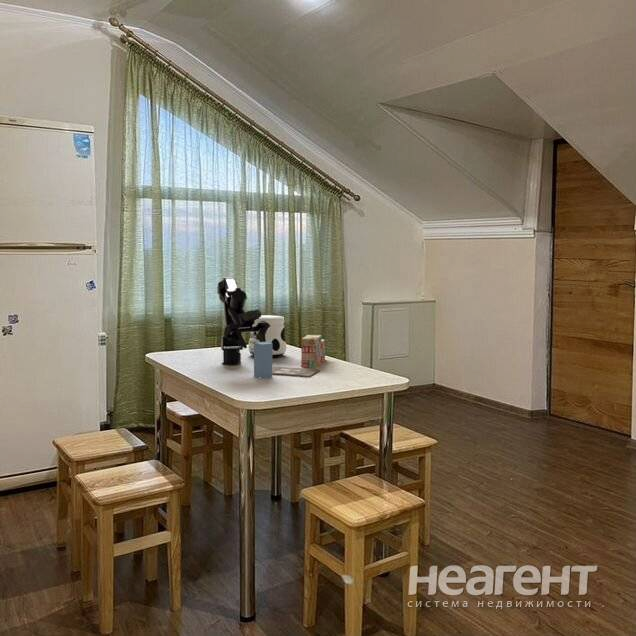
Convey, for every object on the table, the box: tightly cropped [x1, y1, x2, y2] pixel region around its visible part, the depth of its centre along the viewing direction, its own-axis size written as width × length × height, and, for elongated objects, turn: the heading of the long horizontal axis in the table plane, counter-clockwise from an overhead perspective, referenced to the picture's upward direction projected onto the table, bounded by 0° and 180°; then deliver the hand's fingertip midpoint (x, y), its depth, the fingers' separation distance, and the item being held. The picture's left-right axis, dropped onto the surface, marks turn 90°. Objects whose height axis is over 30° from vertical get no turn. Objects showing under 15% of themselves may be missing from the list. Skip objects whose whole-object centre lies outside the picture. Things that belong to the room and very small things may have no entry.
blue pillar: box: [253, 342, 273, 379], centre depth 248 cm, size 5×5×13 cm
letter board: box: [272, 366, 321, 378], centre depth 258 cm, size 20×14×1 cm
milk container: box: [248, 314, 287, 358], centre depth 298 cm, size 17×17×18 cm
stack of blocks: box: [300, 334, 326, 368], centre depth 281 cm, size 21×6×12 cm, turn 169°
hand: (255, 346), depth 251 cm, fingers open, 9 cm apart
